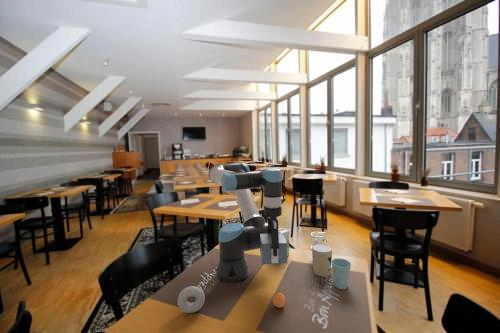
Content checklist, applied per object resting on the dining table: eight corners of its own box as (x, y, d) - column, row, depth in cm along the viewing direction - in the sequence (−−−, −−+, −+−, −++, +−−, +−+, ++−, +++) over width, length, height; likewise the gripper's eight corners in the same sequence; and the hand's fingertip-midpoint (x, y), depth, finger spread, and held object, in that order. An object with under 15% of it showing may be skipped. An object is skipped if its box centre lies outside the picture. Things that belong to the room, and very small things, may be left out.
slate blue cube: (262, 264, 99) (262, 243, 98) (260, 252, 109) (259, 233, 108) (287, 263, 99) (287, 242, 98) (282, 251, 109) (282, 233, 108)
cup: (343, 279, 109) (344, 257, 108) (354, 289, 101) (354, 266, 100) (328, 281, 108) (328, 259, 106) (337, 292, 100) (337, 268, 99)
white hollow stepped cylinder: (325, 263, 123) (325, 234, 122) (311, 262, 125) (311, 234, 123) (323, 256, 130) (323, 229, 129) (310, 256, 132) (310, 229, 130)
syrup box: (281, 252, 137) (280, 227, 135) (289, 255, 133) (289, 230, 131) (274, 255, 133) (274, 230, 132) (282, 259, 129) (282, 232, 127)
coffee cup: (333, 278, 110) (333, 253, 109) (312, 276, 112) (312, 251, 111) (330, 267, 119) (331, 244, 118) (311, 266, 121) (311, 243, 120)
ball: (269, 306, 92) (269, 294, 92) (277, 300, 96) (277, 288, 95) (280, 312, 89) (280, 299, 88) (288, 305, 93) (288, 293, 92)
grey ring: (177, 317, 88) (176, 291, 87) (178, 310, 91) (177, 285, 90) (205, 313, 89) (204, 287, 88) (205, 307, 93) (204, 282, 92)
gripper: (287, 213, 90) (286, 270, 93) (277, 198, 113) (277, 244, 115) (266, 214, 90) (267, 270, 92) (261, 199, 112) (261, 244, 115)
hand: (272, 256), depth 104 cm, fingers closed on slate blue cube, 10 cm apart
